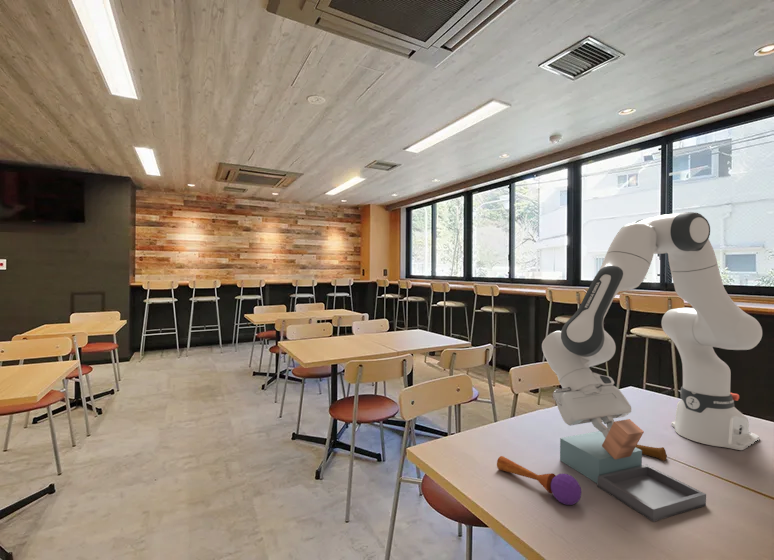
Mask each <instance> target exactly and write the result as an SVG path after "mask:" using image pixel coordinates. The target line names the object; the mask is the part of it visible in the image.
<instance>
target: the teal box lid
mask: <svg viewBox="0 0 774 560" xmlns="http://www.w3.org/2000/svg"><path fill="white" fill-rule="evenodd" d="M605 439H606V438H605V437H604V435H603V434H602V432H600V431H599V430H598V431H591V432H586V433H581V434H575V435H570V436H564V437H560V438H559V445H560V446H559V461H560V462H562V463H563V464H565V465H567V466H568V467H570V468H571V469H573V470H574V471H576V472H578V473H580V474H581V475H583V476H584V477H586V478H587V479H589V480H591V481H593V482H594V483H596V485H598V476H600V475H604V474H609V473H613V472H617V471H621V470H626V469H630V468H634V467H639V466H643V465H642V463H643V462H642V461H643V454H642V450H640V449H638V448H636V447H635V449H634V451H633V452H632V454H631V456H629V457H625V458H620V459H614V458H613V457H612V456H611V455H610V454H609V453H608V452H607V451H606V450H605V449H604V448H603V447H602V444H603V442H604V441H605Z"/></svg>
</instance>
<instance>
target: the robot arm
mask: <svg viewBox="0 0 774 560" xmlns="http://www.w3.org/2000/svg"><path fill="white" fill-rule="evenodd" d="M710 236H711V226H710V223H709V220H708V219H707V218H705V216H703V215H702V214H701V213H700V212H692V211H690V212H689V211H688V212H687V211H684V212H683V211H682V212H680V213H669V214H666V213H665V214H660V215H657V216H654V217H653V216H652V217H648V218H646V219H639V220H636V221H633V222H632V223H627V224H625V225H623V226H622V227H621V228H620V229H619V230H618V232H617V234H616V235H615V236H614V238H613V239H612V242H611V243H610V244H609V245H610V246H609V248H608V249H607V252H606V253H605V256H604V259H603V261H602V263H601V266H600V268H599V270H598V271H597V273H596V275H595V276H594V278H593V280H592V281H591V284H590V285H589V287H588V288H587V291H586V293H585V295H584V297H583V299H582V300H581V301H582V302H581V303H580V305H579V307H578V308H577V310H576V311H575V312H574V314H573V315H572V316H571V317H570V318H569V319H567V321H565V323H564V325H562V328H561V330H555V331H553V332H550V333H549V334H547V336H545V337H544V339H543V340H542V343H541V351H542V353H543V355H544V358H545V360H546V361H547V364H548V366H549V368H550V369H551V370H552V371H553V372H554V373H555V375H556V376H557V379H558V383H559V385H560V386H561V388H555V389H554V391H553V394H552V396H553V397H552V398H553V399H554V401H555V404H556V406H557V409H558V410H559V411H558V412H559V414H560V415H561V418H562V420H563V421H564V423H565V424H566V425H568V426H577V425H581V424H590V423H591V424H592V426H593V427H594V428H596V430H598V431H600V432H602V434H603V435H604V437H605V438H606V437H607V435H608V433H609V431H610V429H611V427H612V425H613V423H614V422H615V420H614V419H619V418H624V417H626V416H627V415H630V414H631V412H632V406H631V404H630V402H629V401H628V399H627V398H626V396H625V395H624V394H623V392H622V391H621V390H620V389H619V388H618V387H617V386H615V385H614V384H615V381H614V379H613V378H612V377H611V376H607V375H602V374H600V373H597V372H593V371H592V370H591V368H592V367H595V366H598V365H601V364H604V363H607V362H608V361H610V360H612V359H613V357H614V356H615V354H616V351H617V346H616V342H615V339H614V338H613V337H612V336H611V335H610V334H609V332H607V331H606V330H605V328H604V320H605V317H606V315H607V313H608V312H609V309H610V307H611V305H612V303H613V301H614V298H615V297H616V295H617V294H618V293H619V292H623V291H624V292H625V291H626V292H627V291H630V290H634V289H637V288H638V287H640V285H641V284H642V282H643V281H644V279H645V277H646V276H647V274H648V271H649V269H650V266H651V264H652V262H653V258H654V255H656V254H657V255H659V254H661V255H662V254H667V257H668V264H669V269H670V273H671V278H672V283H673V286H674V291H675V293H676V295H677V296H678V297H679V298H680V299H682V300H684V301H685V302H686V303H688V304H689V305H691V307H688V306H687V307H677V308H671V309H668V310H667V311H666V312H665V313H664V314H663V316H662V318H661V328H662V331H663V332H664V333H665V335H666V336H668V337H669V339H670V340H671V341H672V342H673V344H674V345H675V347H676V349H677V351H678V353H679V356H680V359H681V366H682V386H681V387H680V391H679V392H680V399H681V400H679V401H678V402H677V404H676V410H675V417H674V418H675V419H674V421H671V423H670V425H671V426H672V427H673V428H674V431H675V432H676V434H678V435H679V436H681V437H682V438H685V439H688V440H691V441H692V442H697V443H699V444H700V443H701V444H703V445H706V446H711V447H712V446H713V447H720V448H721V447H722V448H728V449H733V450H736V451H737V450H739V451H744V450H746V449H747V448H749V447H750V446H751V444H752V445H754V444H755V443H756V442H755V441H757V440H758V441H760V440H759V439H761V438H760V436H759V435H758V434H756V433H754V432H752V431H750V428H749V426H750V424H749V422H750V421H749V419H748V417H747V416H746V415H744V414H743V412H741V411H740V410H738V409H737V408H736V407H735V401H739V399H740V395H739V394H738V393H733V392H731V375H732V374H731V369H730V367H729V365H728V364H727V362H725V361H723V360H722V359H721V358H720V357H719V356H718V355H717V353H716V352H715V349H714V348H719V349H722V350H733V351H747V350H752V349H754V348H755V347H757V346H758V344H759V343H760V341H762V337H763V327H762V326H761V324H760V322H759V321H758V320H757V319H756V318H755V317H753V316H752V315H750V314H749V313H746V312H745V311H744V310H743V309H741V308H740V306H738V305H737V304H736V303H735V302H734V301H733V299H732V298H731V297H730V295H729V294H728V292H727V290H726V289H725V287H724V283H723V280H722V275H721V273H720V269H719V265H718V264H719V263H718V260H717V256H716V254H715V251H714V248H713V245H712V243H711V241H710ZM758 441H757V442H758ZM754 442H755V443H754ZM748 446H749V447H748Z"/></svg>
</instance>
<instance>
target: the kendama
mask: <svg viewBox="0 0 774 560" xmlns="http://www.w3.org/2000/svg"><path fill="white" fill-rule="evenodd" d="M496 468H497V469H498V470H500V471H503V472H507V473H510V474H514V475H518V476H522V477H525V478H528V479H532V480H536V481H537V482H538V483H539V484H540V485H541V486H542V487H543V488H544V489H545V490H546V491H547V492H548V493H549V494H552V496H553V497H554V499H556V500H557V501H558V502H559V503H561V504H564V505H566V506H569V505H570V506H571V505H572V506H573V505H575V504H576V503H578V502H579V501H580V500H581V498H582V497H581V496H582V487H581V485H580V483H579V481H578V480H577V479H576V478H575V477H574V476H572V475H570V474H568V473H558V474H555V473H551V472H550V473H545V474H543V473H542V474H538V473H535V472H534V471H532V470H529V469H527V468H526V467H524V466H522V465H519V463H516V462H514V461H513V460H511V459H509V458H507V457H505V456H504V455H500V456H499V457H498V458H497V461H496Z"/></svg>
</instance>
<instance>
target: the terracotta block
mask: <svg viewBox="0 0 774 560" xmlns="http://www.w3.org/2000/svg"><path fill="white" fill-rule="evenodd" d="M643 434H644V430H643V429H642V428H640V427H639V426H638V425H637V424H636V423H635V422H634V421H632V420H631V419H629V418H627V419H622V420H614V423H613V425H612V427H611V429H610V431H609V433H608V435H607V437H606V439H605V441H604V442H603V444H602V447H603V448H604V449H605V450H606V451H607V452H608V453H609V454H610V455H611V456H612V457H613V458H614V459H620V458H625V457H629V456H631V454H632V452H633V451H634V449H635V447H636V445H637V444H638V443H639V442H640V441H641V438H642V437H643ZM638 445H639V444H638Z"/></svg>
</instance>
